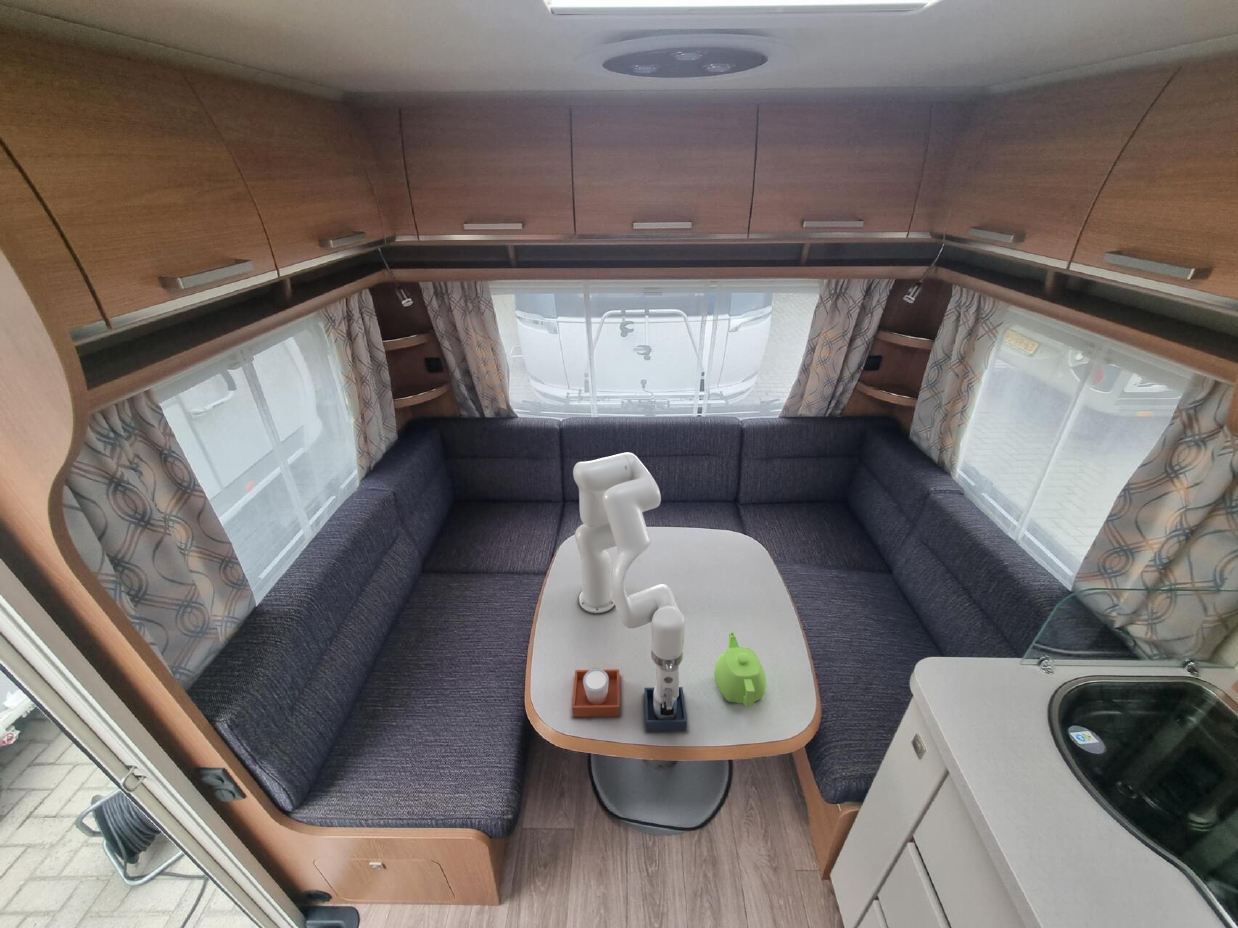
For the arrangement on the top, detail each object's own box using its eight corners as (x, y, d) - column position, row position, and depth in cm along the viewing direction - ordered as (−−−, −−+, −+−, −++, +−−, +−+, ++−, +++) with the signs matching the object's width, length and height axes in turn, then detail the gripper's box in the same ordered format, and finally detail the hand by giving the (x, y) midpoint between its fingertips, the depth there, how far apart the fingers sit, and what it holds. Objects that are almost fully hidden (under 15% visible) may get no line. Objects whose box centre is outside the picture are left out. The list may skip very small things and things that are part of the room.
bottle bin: (644, 696, 133) (644, 687, 131) (681, 695, 133) (682, 686, 131) (646, 731, 124) (646, 722, 122) (686, 730, 124) (686, 721, 122)
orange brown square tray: (576, 678, 138) (575, 669, 136) (619, 678, 138) (619, 669, 136) (573, 716, 128) (572, 707, 126) (619, 716, 128) (619, 706, 126)
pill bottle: (678, 704, 130) (680, 678, 124) (673, 725, 125) (674, 699, 119) (656, 698, 132) (657, 671, 126) (650, 718, 127) (650, 692, 121)
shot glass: (606, 709, 129) (605, 693, 126) (581, 705, 131) (579, 688, 127) (612, 686, 135) (611, 670, 131) (588, 682, 136) (586, 666, 133)
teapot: (706, 656, 143) (710, 627, 137) (752, 654, 144) (757, 624, 137) (722, 722, 126) (726, 692, 120) (773, 719, 126) (780, 689, 120)
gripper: (687, 684, 109) (683, 728, 117) (678, 622, 123) (676, 666, 132) (653, 684, 109) (652, 729, 117) (649, 623, 124) (648, 666, 132)
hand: (665, 695), depth 125 cm, fingers open, 9 cm apart
